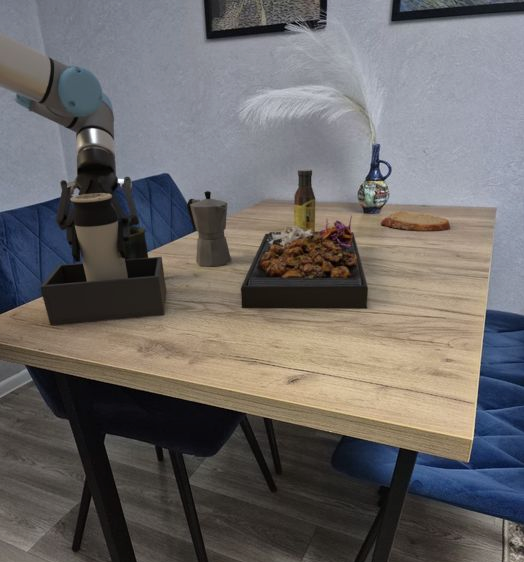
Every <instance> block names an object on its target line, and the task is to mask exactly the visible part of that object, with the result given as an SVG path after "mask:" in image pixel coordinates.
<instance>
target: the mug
mask: <svg viewBox="0 0 524 562" xmlns="http://www.w3.org/2000/svg"><path fill="white" fill-rule="evenodd" d="M146 232H147V229H146V228H145V227H143V226H137V225H131V226H130V241H125V249H126V258H125V259H138V258H149V252H148V245H147V239H146Z"/></svg>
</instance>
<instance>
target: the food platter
mask: <svg viewBox="0 0 524 562" xmlns="http://www.w3.org/2000/svg"><path fill="white" fill-rule="evenodd" d="M352 218H353V215H350V219H349V223H348V225H347V226H346V225H345V223H343V221H341V220H338V219H336V220H335V221H334V222H333V226H332V227H328V225H330V224H329V222H328V221H329V220H328V218H325V222H324V224H325V225H324V226H325V229H321V230H320V231H315V232H313V231H311V229H310V230H308V231H305V232H304V231H303V229H300V228H298V227H296V226H294V225H293V226H289V225H288V226H285V227H284V230H283V231H277V230H275V231H270V232H268V233H265V234H264V236H263V238H262V239H261V243H260V245H259V247H258V249H257V251H256V254H255V255H254V258H253V260H252V262H251V264H250V267H249V269H248V271H247V273H246V275H245V277H244V279H243V282H242V284H241V286H240V297H241V300H240V301H241V308H242V309H368V297H369V296H368V293H369V288H368V283H367V279H366V274H365V272H364V268H363V265H362V260H361V256H360V252H359V249H358V245H357V241H356V236H355V233H354V232H353V231H352V229H351V225H352V224H351V223H352Z"/></svg>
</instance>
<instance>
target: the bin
mask: <svg viewBox="0 0 524 562" xmlns="http://www.w3.org/2000/svg"><path fill="white" fill-rule="evenodd" d="M125 264H126V269H127V275H128V278H125V279H113V280H101V281H89V282H87V279H86V274H85V270H84V265H83V262H75V263H65V264H58V265H57V266H55V269H53V270H52V272H51V273H50V275H48V277H47V278H46V279H45V280H44V282H42V284H41V285H40V286H39V289H40V292H41V297H42V300H43V302H44V307H45V311H46V314H47V319H48V321H49V326H57V325H58V326H59V325H69V324H80V323H89V322H90V323H91V322H101V321H113V320H122V319H133V318H145V317H155V316H165V311H166V310H165V308H166V298H167V286H166V278H165V271H164V263H163V257H162V256H153V257H151V256H150V257H148V258H138V259H125Z"/></svg>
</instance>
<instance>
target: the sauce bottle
mask: <svg viewBox="0 0 524 562" xmlns="http://www.w3.org/2000/svg"><path fill="white" fill-rule="evenodd" d="M297 177H298V183H297V186H298V187H297V189H296V191H295V193H294V198H293V200H294V204H293V227H294V226H296V227H298V228H300V229H303V231H304V232H305V231H308V230H310V229H311V231H313V232H316V196H315V192H314V189H313V186H312V177H313V170H312V169H298V170H297Z"/></svg>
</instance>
